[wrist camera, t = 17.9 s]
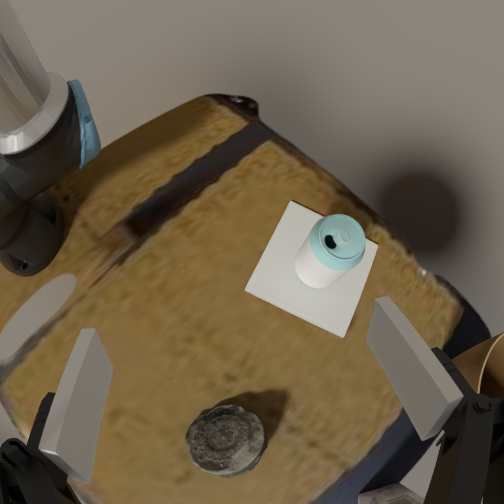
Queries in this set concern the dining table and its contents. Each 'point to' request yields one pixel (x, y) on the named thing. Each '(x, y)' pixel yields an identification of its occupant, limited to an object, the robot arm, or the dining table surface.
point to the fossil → (226, 441)
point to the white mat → (294, 289)
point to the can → (330, 250)
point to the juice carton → (390, 496)
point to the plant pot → (484, 367)
